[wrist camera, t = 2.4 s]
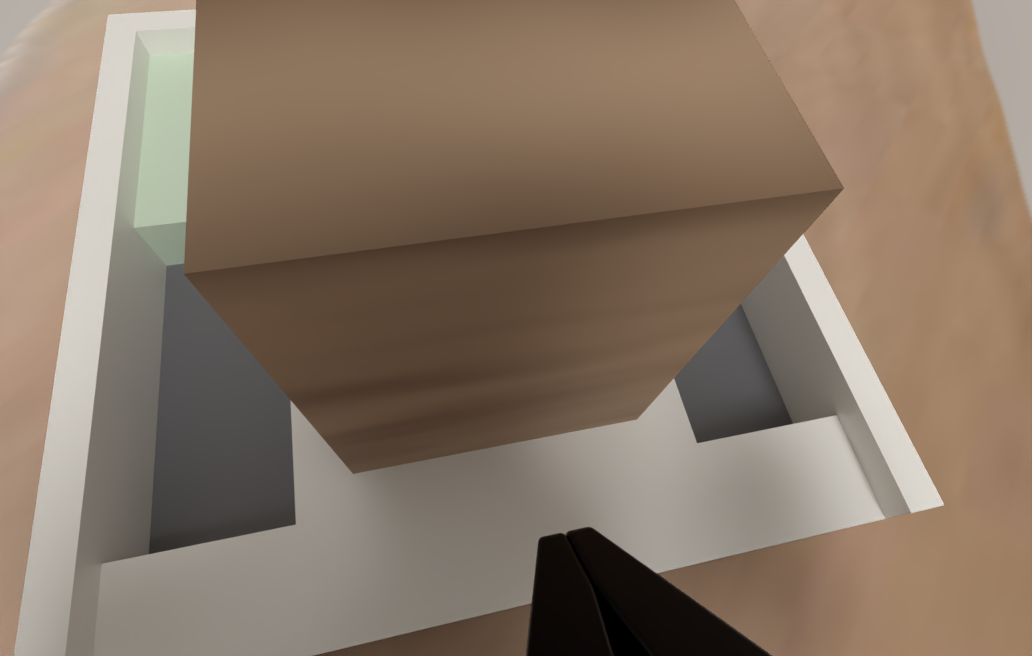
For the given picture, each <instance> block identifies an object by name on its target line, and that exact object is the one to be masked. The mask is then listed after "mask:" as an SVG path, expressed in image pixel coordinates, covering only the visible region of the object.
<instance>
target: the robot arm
mask: <svg viewBox="0 0 1032 656" xmlns="http://www.w3.org/2000/svg"><path fill="white" fill-rule="evenodd" d="M526 656H772V655H771V654H769V653H768V652H766V651H765V650H764V649H762V648H761V647H759V646H758V645H757V644H755V643H754V642H752V641H751V640H750V639H748V638H747V637H745V636H744V635H743V634H741V633H740V632H738V631H737V630H736V629H734V628H733V627H731V626H730V625H729V624H727V623H726V622H724V621H723V620H722V619H720V618H719V617H717V616H716V615H715V614H713V613H712V612H710V611H709V610H707V609H706V608H705V607H703V606H702V605H700V604H699V603H698V602H696V601H695V600H693V599H692V598H691V597H689V596H688V595H686V594H685V593H684V592H682V591H681V590H679V589H678V588H677V587H675V586H674V585H672V584H671V583H670V582H668V581H667V580H665V579H664V578H663V577H661V576H660V575H658V574H657V573H656V572H654V571H653V570H651V569H650V568H649V567H647V566H646V565H644V564H643V563H642V562H640V561H639V560H637V559H636V558H635V557H633V556H632V555H630V554H629V553H628V552H626V551H625V550H623V549H622V548H620V547H619V546H618V545H616V544H615V543H613V542H612V541H611V540H609V539H608V538H606V537H605V536H604V535H602V534H601V533H599V532H598V531H597V530H595V529H594V528H592V527H584V528H579V529H574V530H570V531H568V532H567V533H566V535H565V534H563V533H556V534H552V535H547V536H543V537H540V538H539V540H538V547H537V556H536V565H535V575H534V584H533V593H532V602H531V612H530V621H529V630H528V639H527V649H526Z"/></svg>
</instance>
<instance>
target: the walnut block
mask: <svg viewBox="0 0 1032 656" xmlns="http://www.w3.org/2000/svg"><path fill="white" fill-rule="evenodd" d="M843 189H844V187H843V186H842V184H841V182H840V180H839V179H838V177H837V175H836V174H835V172H834V170H833V168H832V167H831V165H830V163H829V162H828V160H827V158H826V156H825V155H824V153H823V151H822V150H821V148H820V146H819V144H818V143H817V141H816V139H815V138H814V136H813V134H812V132H811V131H810V129H809V127H808V126H807V124H806V122H805V120H804V119H803V117H802V115H801V114H800V112H799V110H798V108H797V107H796V105H795V103H794V102H793V100H792V98H791V96H790V95H789V93H788V91H787V90H786V88H785V86H784V84H783V83H782V81H781V79H780V77H779V76H778V74H777V72H776V71H775V69H774V67H773V65H772V64H771V62H770V60H769V59H768V57H767V55H766V53H765V52H764V50H763V48H762V47H761V45H760V43H759V41H758V40H757V38H756V36H755V35H754V33H753V31H752V29H751V28H750V26H749V24H748V23H747V21H746V19H745V17H744V16H743V14H742V12H741V11H740V9H739V7H738V5H737V4H736V2H735V0H196V21H195V42H194V64H193V85H192V107H191V128H190V150H189V171H188V193H187V214H186V236H185V257H184V275H185V276H186V277H187V278H188V279H189V281H190V282H191V283H192V284H193V285H194V287H195V288H196V289H197V290H198V291H199V292H200V294H201V295H202V296H203V297H204V298H205V300H206V301H207V302H208V303H209V304H210V305H211V307H212V308H213V309H214V310H215V311H216V313H217V314H218V315H219V316H220V317H221V318H222V320H223V321H224V322H225V323H226V324H227V326H228V327H229V328H230V329H231V330H232V331H233V333H234V334H235V335H236V336H237V337H238V339H239V340H240V341H241V342H242V343H243V344H244V346H245V347H246V348H247V349H248V350H249V352H250V353H251V354H252V355H253V356H254V357H255V359H256V360H257V361H258V362H259V363H260V365H261V366H262V367H263V368H264V369H265V370H266V372H267V373H268V374H269V375H270V376H271V378H272V379H273V380H274V381H275V382H276V383H277V385H278V386H279V387H280V388H281V389H282V391H283V392H284V393H285V394H286V395H287V396H288V398H289V399H290V400H291V401H292V402H293V404H294V405H295V406H296V407H297V408H298V409H299V411H300V412H301V413H302V414H303V415H304V417H305V418H306V419H307V420H308V421H309V422H310V424H311V425H312V426H313V427H314V428H315V430H316V431H317V432H318V433H319V434H320V435H321V437H322V438H323V439H324V440H325V441H326V443H327V444H328V445H329V446H330V447H331V448H332V450H333V451H334V452H335V453H336V454H337V456H338V457H339V458H340V459H341V460H342V461H343V463H344V464H345V465H346V466H347V467H348V469H349V470H350V471H351V472H352V473H353V474H355V473H360V472H366V471H371V470H376V469H381V468H386V467H392V466H397V465H402V464H407V463H413V462H418V461H423V460H428V459H433V458H439V457H444V456H449V455H454V454H460V453H465V452H470V451H475V450H480V449H486V448H491V447H496V446H501V445H507V444H512V443H517V442H522V441H527V440H533V439H538V438H543V437H548V436H554V435H559V434H564V433H569V432H575V431H580V430H585V429H590V428H595V427H601V426H606V425H611V424H616V423H622V422H627V421H632V420H637V419H638V418H639V417H640V416H641V415H642V413H643V412H644V411H645V410H646V409H647V408H648V407H649V406H650V405H651V403H652V402H653V401H654V400H655V399H656V398H657V397H658V396H659V394H660V393H661V392H662V391H663V390H664V389H665V388H666V387H667V386H668V384H669V383H670V382H671V381H672V380H673V379H674V378H675V377H676V375H677V374H678V373H679V372H680V371H681V370H682V369H683V368H684V367H685V365H686V364H687V363H688V362H689V361H690V360H691V359H692V358H693V356H694V355H695V354H696V353H697V352H698V351H699V350H700V349H701V348H702V346H703V345H704V344H705V343H706V342H707V341H708V340H709V339H710V337H711V336H712V335H713V334H714V333H715V332H716V331H717V330H718V329H719V327H720V326H721V325H722V324H723V323H724V322H725V321H726V320H727V318H728V317H729V316H730V315H731V314H732V313H733V312H734V311H735V310H736V308H737V307H738V306H739V305H740V304H741V303H742V302H743V301H744V299H745V298H746V297H747V296H748V295H749V294H750V293H751V292H752V291H753V289H754V288H755V287H756V286H757V285H758V284H759V283H760V282H761V280H762V279H763V278H764V277H765V276H766V275H767V274H768V273H769V272H770V270H771V269H772V268H773V267H774V266H775V265H776V264H777V263H778V261H779V260H780V259H781V258H782V257H783V256H784V255H785V254H786V253H787V251H788V250H789V249H790V248H791V247H792V246H793V245H794V244H795V242H796V241H797V240H798V239H799V238H800V237H801V236H802V235H803V234H804V232H805V231H806V230H807V229H808V228H809V227H810V226H811V225H812V223H813V222H814V221H815V220H816V219H817V218H818V217H819V216H820V215H821V213H822V212H823V211H824V210H825V209H826V208H827V207H828V206H829V204H830V203H831V202H832V201H833V200H834V199H835V198H836V197H837V196H838V194H839V193H840V192H841V191H842V190H843Z"/></svg>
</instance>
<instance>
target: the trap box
mask: <svg viewBox="0 0 1032 656" xmlns="http://www.w3.org/2000/svg"><path fill="white" fill-rule="evenodd" d="M195 21H196V10H179V11H162V12H145V13H129V14H112V15H108V19H107V26H106V33H105V40H104V46H103V53H102V60H101V67H100V74H99V80H98V87H97V94H96V101H95V107H94V114H93V121H92V128H91V135H90V141H89V148H88V155H87V162H86V169H85V175H84V182H83V189H82V196H81V203H80V209H79V216H78V223H77V230H76V236H75V243H74V250H73V257H72V264H71V270H70V277H69V284H68V291H67V298H66V304H65V311H64V318H63V325H62V332H61V338H60V345H59V352H58V359H57V365H56V372H55V379H54V386H53V393H52V399H51V406H50V413H49V420H48V427H47V433H46V440H45V447H44V454H43V461H42V467H41V474H40V481H39V488H38V494H37V501H36V508H35V515H34V522H33V528H32V535H31V542H30V549H29V556H28V562H27V569H26V576H25V583H24V590H23V596H22V603H21V610H20V617H19V623H18V630H17V637H16V644H15V651H14V656H314V655H318V654H322V653H326V652H330V651H335V650H339V649H343V648H347V647H351V646H355V645H360V644H364V643H368V642H372V641H376V640H381V639H385V638H389V637H393V636H397V635H401V634H406V633H410V632H414V631H418V630H422V629H426V628H431V627H435V626H439V625H443V624H447V623H452V622H456V621H460V620H464V619H468V618H472V617H477V616H481V615H485V614H489V613H493V612H498V611H502V610H506V609H510V608H514V607H518V606H523V605H527V604H531V602H532V593H533V584H534V575H535V565H536V556H537V547H538V540H539V538H540V537H543V536H547V535H552V534H556V533H563V534H565V535H566V533H567V532H568V531H570V530H574V529H579V528H584V527H592V528H594V529H595V530H597V531H598V532H599V533H601V534H602V535H604V536H605V537H606V538H608V539H609V540H611V541H612V542H613V543H615V544H616V545H618V546H619V547H620V548H622V549H623V550H625V551H626V552H628V553H629V554H630V555H632V556H633V557H635V558H636V559H637V560H639V561H640V562H642V563H643V564H644V565H646V566H647V567H649V568H650V569H651V570H653V571H654V572H656V573H660V572H665V571H669V570H673V569H677V568H681V567H686V566H690V565H694V564H698V563H702V562H706V561H711V560H715V559H719V558H723V557H727V556H731V555H736V554H740V553H744V552H748V551H752V550H757V549H761V548H765V547H769V546H773V545H777V544H782V543H786V542H790V541H794V540H798V539H803V538H807V537H811V536H815V535H819V534H823V533H828V532H832V531H836V530H840V529H844V528H848V527H853V526H857V525H861V524H865V523H869V522H874V521H878V520H882V519H886V518H891V517H895V516H900V515H905V514H909V513H914V512H918V511H922V510H926V509H930V508H934V507H939V506H943V505H944V504H943V502H942V500H941V498H940V496H939V494H938V492H937V490H936V488H935V486H934V484H933V482H932V480H931V479H930V477H929V475H928V473H927V471H926V469H925V467H924V465H923V463H922V461H921V459H920V457H919V456H918V454H917V452H916V450H915V448H914V446H913V444H912V442H911V440H910V438H909V436H908V434H907V432H906V431H905V429H904V427H903V425H902V423H901V421H900V419H899V417H898V415H897V413H896V411H895V409H894V408H893V406H892V404H891V402H890V400H889V398H888V396H887V394H886V392H885V390H884V388H883V386H882V384H881V383H880V381H879V379H878V377H877V375H876V373H875V371H874V369H873V367H872V365H871V363H870V361H869V360H868V358H867V356H866V354H865V352H864V350H863V348H862V346H861V344H860V342H859V340H858V338H857V336H856V335H855V333H854V331H853V329H852V327H851V325H850V323H849V321H848V319H847V317H846V315H845V313H844V311H843V310H842V308H841V306H840V304H839V302H838V300H837V298H836V296H835V294H834V292H833V290H832V288H831V287H830V285H829V283H828V281H827V279H826V277H825V275H824V273H823V271H822V269H821V267H820V265H819V263H818V262H817V260H816V258H815V256H814V254H813V252H812V250H811V248H810V246H809V244H808V242H807V240H806V239H805V237H804V235H802V236H801V237H800V238H799V239H798V240H797V241H796V242H795V244H794V245H793V246H792V247H791V248H790V249H789V250H788V251H787V253H786V254H785V255H784V256H783V257H782V258H781V259H780V260H779V261H778V263H777V264H776V265H775V266H774V267H773V268H772V269H771V270H770V272H769V273H768V274H767V275H766V276H765V277H764V278H763V279H762V280H761V282H760V283H759V284H758V285H757V286H756V287H755V288H754V289H753V291H752V292H751V293H750V294H749V295H748V296H747V297H746V298H745V299H744V301H743V302H742V303H741V304H740V305H739V306H738V307H737V308H736V310H735V311H734V312H733V313H732V314H731V315H730V316H729V317H728V318H727V320H726V321H725V322H724V323H723V324H722V325H721V326H720V327H719V329H718V330H717V331H716V332H715V333H714V334H713V335H712V336H711V337H710V339H709V340H708V341H707V342H706V343H705V344H704V345H703V346H702V348H701V349H700V350H699V351H698V352H697V353H696V354H695V355H694V356H693V358H692V359H691V360H690V361H689V362H688V363H687V364H686V365H685V367H684V368H683V369H682V370H681V371H680V372H679V373H678V374H677V375H676V377H675V378H674V379H673V380H672V381H671V382H670V383H669V384H668V386H667V387H666V388H665V389H664V390H663V391H662V392H661V393H660V394H659V396H658V397H657V398H656V399H655V400H654V401H653V402H652V403H651V405H650V406H649V407H648V408H647V409H646V410H645V411H644V412H643V413H642V415H641V416H640V417H639V418H638V419H637V420H632V421H627V422H622V423H616V424H611V425H606V426H601V427H595V428H590V429H585V430H580V431H575V432H569V433H564V434H559V435H554V436H548V437H543V438H538V439H533V440H527V441H522V442H517V443H512V444H507V445H501V446H496V447H491V448H486V449H480V450H475V451H470V452H465V453H460V454H454V455H449V456H444V457H439V458H433V459H428V460H423V461H418V462H413V463H407V464H402V465H397V466H392V467H386V468H381V469H376V470H371V471H366V472H360V473H355V474H353V473H352V472H351V471H350V470H349V469H348V467H347V466H346V465H345V464H344V463H343V461H342V460H341V459H340V458H339V457H338V456H337V454H336V453H335V452H334V451H333V450H332V448H331V447H330V446H329V445H328V444H327V443H326V441H325V440H324V439H323V438H322V437H321V435H320V434H319V433H318V432H317V431H316V430H315V428H314V427H313V426H312V425H311V424H310V422H309V421H308V420H307V419H306V418H305V417H304V415H303V414H302V413H301V412H300V411H299V409H298V408H297V407H296V406H295V405H294V404H293V402H292V401H291V400H290V399H289V398H288V396H287V395H286V394H285V393H284V392H283V391H282V389H281V388H280V387H279V386H278V385H277V383H276V382H275V381H274V380H273V379H272V378H271V376H270V375H269V374H268V373H267V372H266V370H265V369H264V368H263V367H262V366H261V365H260V363H259V362H258V361H257V360H256V359H255V357H254V356H253V355H252V354H251V353H250V352H249V350H248V349H247V348H246V347H245V346H244V344H243V343H242V342H241V341H240V340H239V339H238V337H237V336H236V335H235V334H234V333H233V331H232V330H231V329H230V328H229V327H228V326H227V324H226V323H225V322H224V321H223V320H222V318H221V317H220V316H219V315H218V314H217V313H216V311H215V310H214V309H213V308H212V307H211V305H210V304H209V303H208V302H207V301H206V300H205V298H204V297H203V296H202V295H201V294H200V292H199V291H198V290H197V289H196V288H195V287H194V285H193V284H192V283H191V282H190V281H189V279H188V278H187V277H186V276H185V275H184V257H185V236H186V214H187V193H188V171H189V150H190V128H191V107H192V85H193V64H194V42H195Z"/></svg>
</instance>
